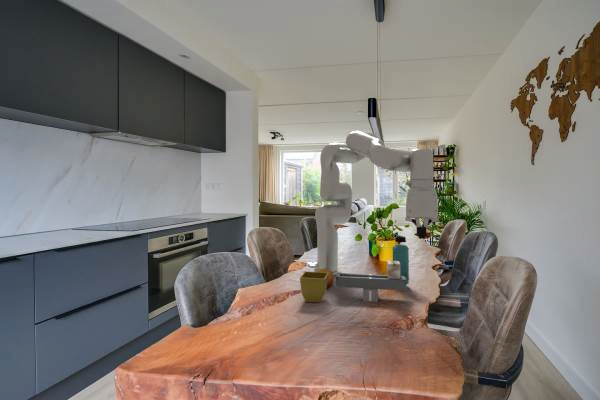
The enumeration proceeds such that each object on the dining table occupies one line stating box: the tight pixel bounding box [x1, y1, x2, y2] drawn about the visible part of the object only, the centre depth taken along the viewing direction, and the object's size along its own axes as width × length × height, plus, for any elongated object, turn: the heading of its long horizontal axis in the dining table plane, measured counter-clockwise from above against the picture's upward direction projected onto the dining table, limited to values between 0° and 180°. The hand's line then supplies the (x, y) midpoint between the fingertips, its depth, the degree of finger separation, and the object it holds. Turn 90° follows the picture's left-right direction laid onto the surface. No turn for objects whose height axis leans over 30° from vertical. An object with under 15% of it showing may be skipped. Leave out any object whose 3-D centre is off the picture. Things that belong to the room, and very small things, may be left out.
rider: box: [386, 260, 400, 279], centre depth 121 cm, size 4×6×7 cm
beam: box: [335, 272, 407, 303], centre depth 123 cm, size 24×9×8 cm, turn 79°
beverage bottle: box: [392, 235, 410, 286], centre depth 137 cm, size 6×7×20 cm
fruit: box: [316, 269, 335, 288], centre depth 138 cm, size 8×8×8 cm
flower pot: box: [299, 271, 328, 304], centre depth 120 cm, size 9×9×9 cm
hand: (421, 238), depth 119 cm, fingers closed
